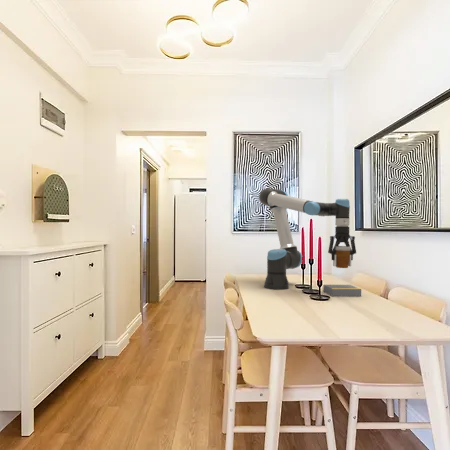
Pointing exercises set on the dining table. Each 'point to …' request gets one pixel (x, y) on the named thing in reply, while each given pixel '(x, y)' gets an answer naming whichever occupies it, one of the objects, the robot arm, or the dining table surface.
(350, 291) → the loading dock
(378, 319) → the dining table surface
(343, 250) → the disposable coffee cup
